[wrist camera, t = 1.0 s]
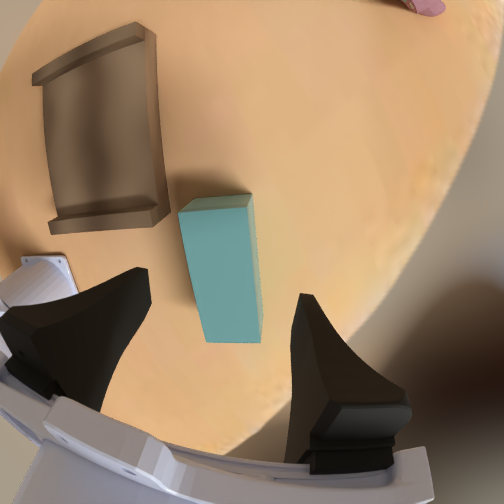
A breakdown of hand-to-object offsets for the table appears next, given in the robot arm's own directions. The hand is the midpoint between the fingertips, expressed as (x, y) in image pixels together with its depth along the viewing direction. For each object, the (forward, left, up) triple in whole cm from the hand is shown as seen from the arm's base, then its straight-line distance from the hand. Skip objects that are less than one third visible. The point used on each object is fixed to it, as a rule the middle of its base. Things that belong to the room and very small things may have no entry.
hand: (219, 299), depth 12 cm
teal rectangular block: (-1, -3, -10) cm, 10 cm away
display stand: (-11, +9, -10) cm, 17 cm away
